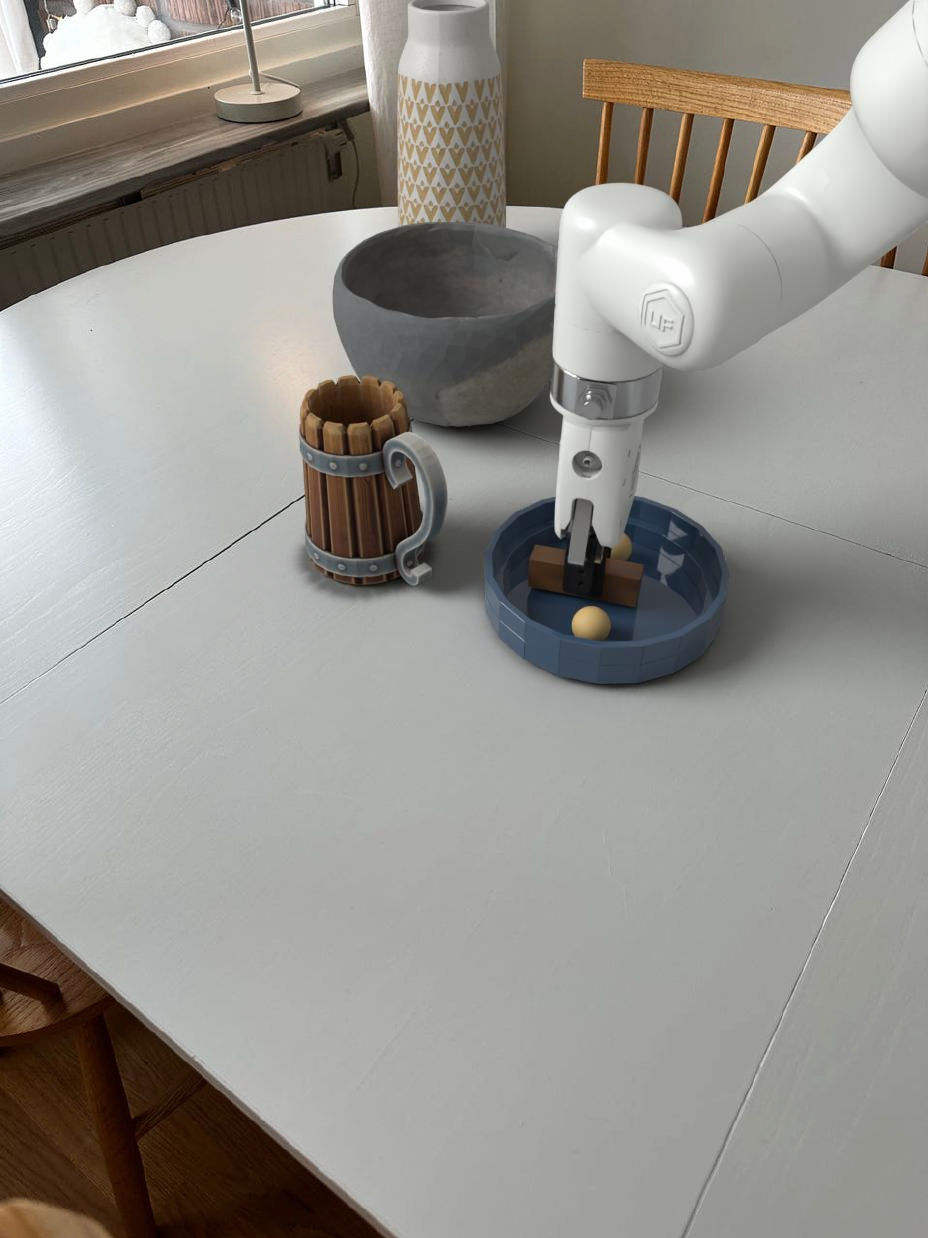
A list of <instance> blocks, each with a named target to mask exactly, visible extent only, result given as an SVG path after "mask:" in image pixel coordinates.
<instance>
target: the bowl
mask: <svg viewBox="0 0 928 1238" xmlns="http://www.w3.org/2000/svg"><path fill="white" fill-rule="evenodd" d="M557 259H558V246H555V245H553V244H551V243H549V242H548V241H546V240H543V239H542V238H539V237H538V236H535V235H532V234H531V233H530V234H529V233H526V232H523V231H520V230H516V229H513V228H508V227H506V228H505V227H500V226H496V225H492V224H485V223H469V222H424V223H415V224H409V225H403V226H400V227H399V226H396V227H393V228H391V229H387V230H383V231H380V232H378V233H376V234H374V235H372V236H370V237H367V238H365V239H364V240H362V241H361V242H359V243H358V244H356V245H355V246H354V247H353V248H352V249H350V251H348V252H347V253H346V254H345V255H344V256H343V257H342V259H341V260H340V262H339V264H338V265H337V267H336V268H337V269H336V271H335V272H334V273H335V274H334V277H333V284H332V312H333V319H334V324H335V327H336V330H337V333H338V336H339V339H340V343H341V346H342V347H343V349H344V352H345V354H346V356H347V358H348V361H349V363H350V366H351V367H352V369H353V371H354V372H355V375H356V377H357V379H358V380H359V382H360V381H361V379H362V377H363V376H374V377H377V378H378V379H379V380H380V381H381V383H382V382H383V381H389V382H391V383H393V384H395V386H396V387H397V389H398V390H399V391H400V392H402V394H403V396H404V398H405V399H406V404H407V411H408V416H409V417H410V419H411V420H414V421H417V422H422V423H426V424H431V425H436V426H442V427H446V428H447V427H450V426H451V427H457V428H458V427H466V426H467V427H472V426H476V425H477V426H478V425H494V424H495V423H498V422H504V421H506V420H507V419H509V418H512V417H515V416H516V415H517V414H519V413H520V412H522V411H524V409H525V408H526V407H528V406H529V405H530V404H531V403H533V401H535V399H537V398H538V397H539V396H540V394H541V393H542V391H544V389H545V388H546V386H547V385H548V383H550V381H551V366H552V353H553V351H552V350H553V331H554V312H555V296H556V277H557Z"/></svg>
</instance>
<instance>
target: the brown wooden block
mask: <svg viewBox="0 0 928 1238" xmlns="http://www.w3.org/2000/svg"><path fill="white" fill-rule="evenodd" d="M565 552H566V550H563V549H557V548H552V547H547V546H541V545H535V546H534V549H533V551H532V554H531V556H530V559H529V575H528V586H529V587H533V588H538V589H544V590H549V591H554V592H559V593H564V594H569V595H574V596H579V597H585V598H590V599H595V600H600V601H605V602H610V603H615V604H620V605H625V606H631V607H636V606H637V602H638V598H639V594H640V589H641V583H642V577H643V571H644V565H643V564H638V563H633V562H627V561H622V560H617V559H611V558H606V567H605V576H604V584H603V592H602V595H601V597H600V598H593V597H588V596H582V595H577V594H572V593H567V592H564V591H563V589H562V585H563V572H564V559H565Z"/></svg>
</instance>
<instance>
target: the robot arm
mask: <svg viewBox="0 0 928 1238" xmlns="http://www.w3.org/2000/svg"><path fill="white" fill-rule="evenodd" d="M849 93H850V100H851V107H850V108H849V110H848V111H847V112H846V114H845V115H844V116H843V117H842V118H841V120H840V121H839V122H838V124H837V125H835V127H834V128H832V130H831V131H830V132H829V133H828V134H827V135H826V136H825V137H824V138H823V139H822V140H821V141H819V142H818V144H817V145H815V147H813V149H811V150H810V151H809V152H808V153H807V154H806V155H805V156H804V157H803V158H802V159H800V160H799V161H798V162H797V163H796V164H795V165H794V166H793V167H792V168H791V169H789V171H787V172H786V173H784V175H783V176H782V177H781V178H780V179H779V180H777V181H776V182H775V183H773V185H771V186H770V187H769V188H768V189H767V190H765V191H764V192H763V193H762V194H760V195H759V196H758V197H756V198H754V199H753V200H751V201H749V202H748V203H745V204H742V205H740V206H738V207H735V208H734V209H730V210H729V211H727V212H725V213H723V214H720V215H719V216H717V217H714V218H713V219H710V220H708V221H706V222H704V223H701V224H699V225H694V226H689V227H685V228H684V227H683V216H682V211H681V209H680V207H679V205H678V203H677V202H676V201H675V200H674V199H673V198H672V197H671V196H670V195H668V193H666V192H664V191H662V190H660V189H657V188H655V187H652V186H648V185H644V184H639V183H631V182H630V183H629V182H610V183H602V184H596V185H592V186H589V187H585V188H583V189H581V190H579V191H577V192H576V193H575V194H573V195H572V196H571V197H569V199H568V200H567V202H566V203H565V205H564V206H563V209H562V211H561V213H560V219H559V228H558V241H557V242H558V244H557V248H558V259H557V277H556V296H555V312H554V331H553V350H552V351H553V353H552V366H551V379H550V387H549V401H550V403H551V405H552V406H553V408H554V409H555V411H556V412H558V413H559V414H561V415H562V423H561V431H560V432H561V434H560V441H559V453H558V464H557V475H556V487H555V488H556V489H555V497H556V501H555V533H556V534H557V536H558V537H559V538H560V539H562V538H563V537H565V536H566V533H567V531H568V534H567V547H566V552H565V559H564V572H563V585H562V589H563V591H564V592H567V593H572V594H577V595H582V596H588V597H593V598H600V597H601V595H602V592H603V584H604V576H605V567H606V558H611V550H612V548H614V547H615V546H617V545H618V544H619V543H620V541H621V539H622V536H623V533H624V530H625V527H626V523H627V520H628V517H629V513H630V510H631V507H632V503H633V499H634V496H636V492H637V488H638V483H639V477H640V476H639V475H640V464H641V463H640V462H641V453H642V451H641V450H642V441H643V434H644V433H643V432H644V422H645V419H647V418H648V417H650V416H651V415H652V414H653V413H654V412H655V411H656V409H657V407H658V404H659V396H660V391H661V390H660V389H661V385H662V384H661V383H662V376H663V368H664V366H667V367H669V368H672V369H675V370H678V371H680V372H687V373H698V372H704V371H707V370H711V369H715V368H716V367H718V366H720V365H722V364H724V363H726V362H728V361H729V360H731V359H733V358H734V357H735V356H737V355H739V354H741V353H742V352H744V351H746V350H747V349H749V348H750V347H752V346H753V345H755V344H757V343H759V341H761V340H762V339H763V338H766V337H767V336H768V335H770V334H771V333H774V332H775V331H776V330H778V329H780V328H782V327H783V326H785V325H787V324H788V323H790V322H792V321H793V320H795V319H797V318H799V317H800V316H802V315H804V314H806V313H807V312H808V311H810V310H812V309H813V308H814V307H816V306H817V305H818V304H820V303H821V302H823V301H824V300H825V299H827V298H828V297H830V296H831V295H832V294H834V293H835V292H836V291H837V290H839V289H841V288H842V287H843V286H844V285H846V284H848V282H850V281H851V280H852V279H854V278H855V277H857V276H858V275H859V274H861V273H862V272H863V271H865V270H866V269H867V268H869V267H870V266H871V265H873V264H874V263H876V262H877V261H878V260H879V259H881V258H882V257H883V256H885V255H886V254H887V253H889V252H890V251H892V250H893V249H895V248H896V247H898V245H900V244H901V243H902V242H904V241H905V240H906V239H908V238H909V237H911V236H912V235H913V234H914V233H916V232H917V231H918V230H920V229H921V228H922V227H923V226H925V225H926V224H928V0H908V1H907V2H906V3H905V4H903V6H901V8H900V9H899V10H898V11H897V12H895V13H894V14H893V15H892V16H891V17H890V18H889V19H888V20H887V21H886V22H885V23H883V25H882V26H881V27H879V29H878V30H876V32H875V33H873V34H872V35H871V36H870V38H869V39H867V41H866V42H865V44H864V45H863V46H862V47H861V49H860V50H859V52H858V54H857V55H856V57H855V59H854V61H853V64H852V66H851V73H850V77H849Z"/></svg>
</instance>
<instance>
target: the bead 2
mask: <svg viewBox="0 0 928 1238" xmlns="http://www.w3.org/2000/svg"><path fill="white" fill-rule="evenodd" d="M631 552H632V543H631V540H630V538H629V537H628V536H627V535H626V534H625V533H623V536H622V539H621V541H620V543H619V544H618V545H617V546H615V547H614V548H612V550H611V559H617V560H622V561H627V560H628V558H629V557H630V555H631Z"/></svg>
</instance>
